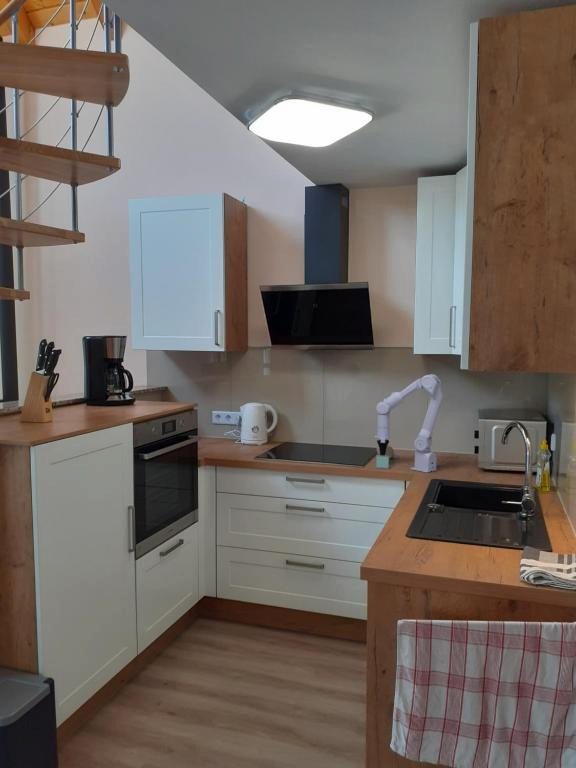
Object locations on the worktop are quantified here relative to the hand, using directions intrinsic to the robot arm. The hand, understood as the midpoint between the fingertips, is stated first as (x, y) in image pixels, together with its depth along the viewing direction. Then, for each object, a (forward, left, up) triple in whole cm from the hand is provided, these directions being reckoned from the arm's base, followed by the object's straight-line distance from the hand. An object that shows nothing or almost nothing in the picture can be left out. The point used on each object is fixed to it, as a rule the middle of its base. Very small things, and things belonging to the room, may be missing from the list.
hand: (382, 455), depth 286 cm
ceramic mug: (+10, -16, -5) cm, 20 cm away
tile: (-4, +5, -5) cm, 8 cm away
